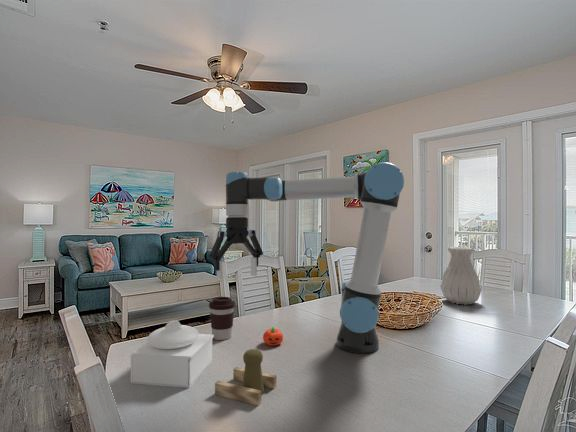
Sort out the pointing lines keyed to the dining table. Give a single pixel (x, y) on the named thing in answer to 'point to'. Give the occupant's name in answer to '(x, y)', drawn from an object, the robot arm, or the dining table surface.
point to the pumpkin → (273, 337)
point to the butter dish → (172, 356)
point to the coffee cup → (222, 317)
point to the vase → (460, 278)
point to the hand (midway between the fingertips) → (237, 277)
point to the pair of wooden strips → (243, 388)
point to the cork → (253, 370)
